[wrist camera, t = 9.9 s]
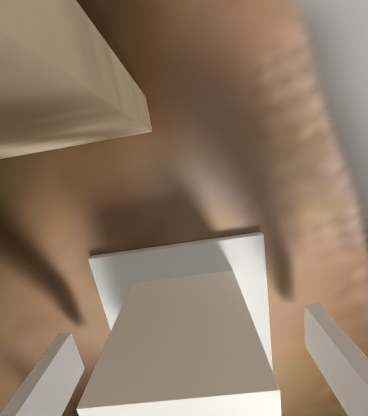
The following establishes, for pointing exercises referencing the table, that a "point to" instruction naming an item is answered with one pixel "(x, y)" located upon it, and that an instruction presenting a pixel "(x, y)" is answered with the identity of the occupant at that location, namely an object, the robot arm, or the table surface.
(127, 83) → the birch screen
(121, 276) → the felt mat
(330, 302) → the table surface
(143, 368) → the cream cube
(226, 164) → the table surface
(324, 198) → the table surface
